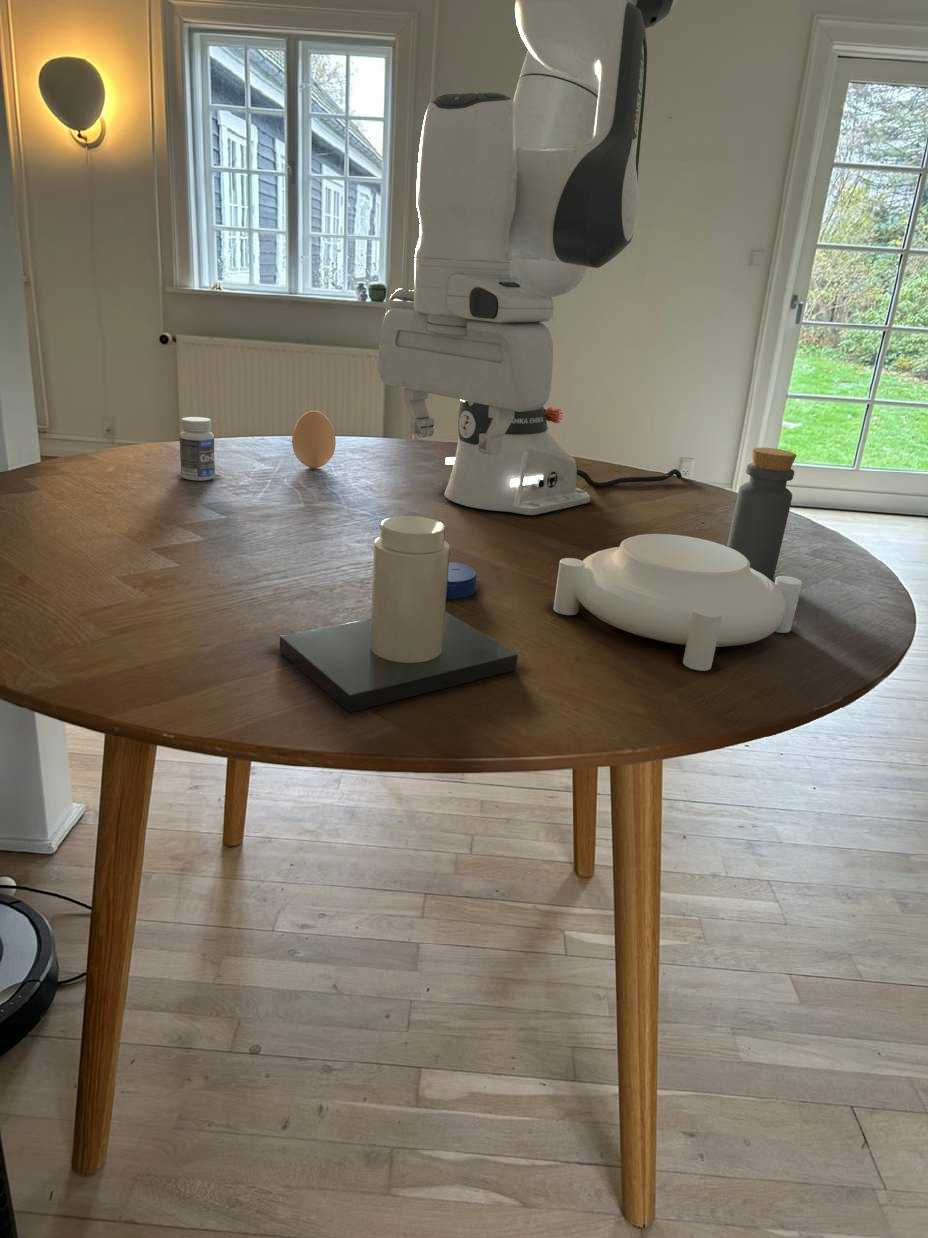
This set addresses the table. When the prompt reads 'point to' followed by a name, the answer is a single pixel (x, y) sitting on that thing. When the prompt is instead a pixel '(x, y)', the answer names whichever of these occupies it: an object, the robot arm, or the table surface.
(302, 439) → the egg
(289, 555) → the table surface
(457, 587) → the lid
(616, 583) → the round stand with pegs
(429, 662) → the board
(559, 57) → the robot arm
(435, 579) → the jar
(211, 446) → the pill bottle
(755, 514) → the bottle
